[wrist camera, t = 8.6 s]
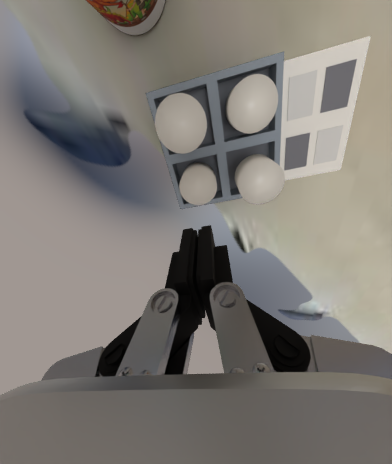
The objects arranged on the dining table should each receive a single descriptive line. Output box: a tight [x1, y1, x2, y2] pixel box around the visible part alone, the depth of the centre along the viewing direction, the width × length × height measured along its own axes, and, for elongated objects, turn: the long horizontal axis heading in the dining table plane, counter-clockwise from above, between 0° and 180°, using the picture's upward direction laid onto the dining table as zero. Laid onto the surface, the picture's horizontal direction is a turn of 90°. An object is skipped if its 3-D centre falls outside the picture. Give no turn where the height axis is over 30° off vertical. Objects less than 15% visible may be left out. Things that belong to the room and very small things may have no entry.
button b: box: [225, 74, 278, 134], centre depth 20 cm, size 5×5×5 cm
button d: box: [235, 154, 285, 204], centre depth 22 cm, size 5×5×5 cm
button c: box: [179, 162, 217, 205], centre depth 25 cm, size 5×5×5 cm
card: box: [280, 36, 371, 180], centre depth 23 cm, size 14×9×1 cm, turn 13°
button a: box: [155, 93, 207, 154], centre depth 19 cm, size 5×5×5 cm
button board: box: [146, 52, 284, 209], centre depth 24 cm, size 15×15×3 cm
